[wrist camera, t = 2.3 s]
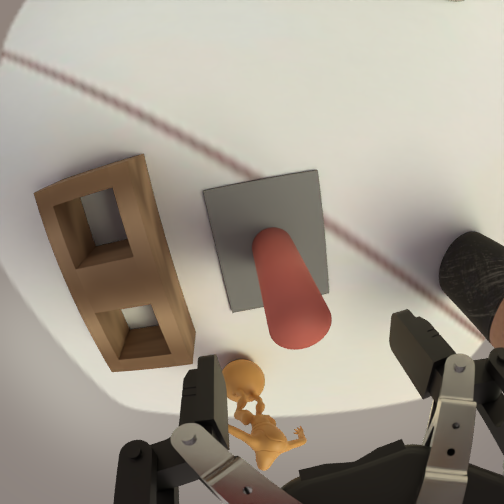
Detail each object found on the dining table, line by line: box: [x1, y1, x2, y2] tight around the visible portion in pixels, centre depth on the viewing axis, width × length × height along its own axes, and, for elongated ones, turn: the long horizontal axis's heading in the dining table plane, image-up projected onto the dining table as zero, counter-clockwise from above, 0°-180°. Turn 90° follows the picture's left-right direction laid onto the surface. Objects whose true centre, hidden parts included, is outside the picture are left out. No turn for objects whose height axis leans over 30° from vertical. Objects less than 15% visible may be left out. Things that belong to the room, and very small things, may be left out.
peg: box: [252, 227, 332, 349], centre depth 19 cm, size 3×3×10 cm
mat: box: [203, 170, 329, 313], centre depth 23 cm, size 10×8×1 cm
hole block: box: [34, 154, 196, 372], centre depth 21 cm, size 15×7×4 cm, turn 10°
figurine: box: [222, 359, 306, 471], centre depth 22 cm, size 8×6×12 cm
